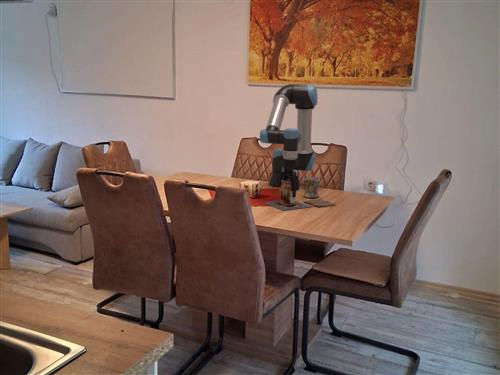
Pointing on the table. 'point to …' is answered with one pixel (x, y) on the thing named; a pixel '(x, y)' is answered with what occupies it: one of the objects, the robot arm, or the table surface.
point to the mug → (311, 187)
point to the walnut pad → (319, 203)
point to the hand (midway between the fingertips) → (287, 201)
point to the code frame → (274, 204)
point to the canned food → (285, 192)
